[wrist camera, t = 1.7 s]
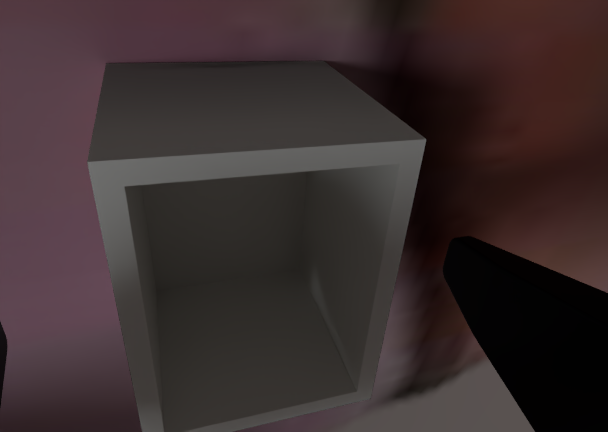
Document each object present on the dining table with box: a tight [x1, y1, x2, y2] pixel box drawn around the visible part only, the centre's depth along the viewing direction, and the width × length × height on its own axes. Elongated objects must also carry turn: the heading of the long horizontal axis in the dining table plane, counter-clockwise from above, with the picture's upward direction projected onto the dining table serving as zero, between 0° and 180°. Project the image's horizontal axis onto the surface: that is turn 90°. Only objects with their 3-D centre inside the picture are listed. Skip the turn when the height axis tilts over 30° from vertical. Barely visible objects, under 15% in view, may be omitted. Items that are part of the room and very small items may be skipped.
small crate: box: [87, 61, 426, 432], centre depth 10 cm, size 6×5×5 cm
